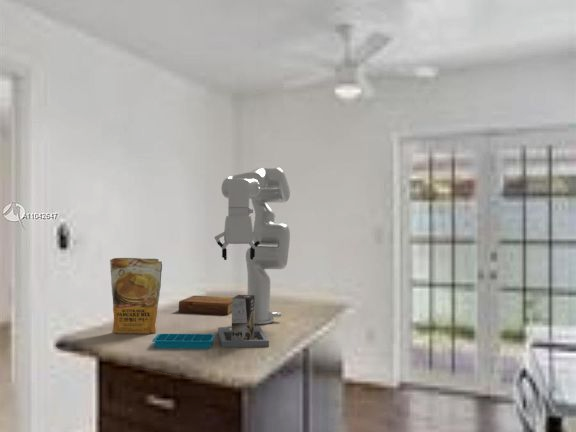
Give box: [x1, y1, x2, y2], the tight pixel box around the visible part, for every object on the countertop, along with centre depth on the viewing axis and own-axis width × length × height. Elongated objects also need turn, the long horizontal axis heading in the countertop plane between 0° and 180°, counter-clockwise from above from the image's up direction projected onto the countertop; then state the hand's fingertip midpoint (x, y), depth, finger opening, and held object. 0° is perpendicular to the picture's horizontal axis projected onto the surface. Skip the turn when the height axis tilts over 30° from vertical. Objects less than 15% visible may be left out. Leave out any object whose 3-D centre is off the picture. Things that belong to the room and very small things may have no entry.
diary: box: [178, 295, 233, 316], centre depth 270 cm, size 23×19×6 cm
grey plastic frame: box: [217, 326, 270, 349], centre depth 211 cm, size 16×24×2 cm, turn 10°
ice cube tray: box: [151, 333, 216, 350], centre depth 201 cm, size 12×20×3 cm, turn 91°
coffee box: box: [230, 294, 255, 341], centre depth 208 cm, size 9×6×16 cm
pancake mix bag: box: [109, 257, 163, 335], centre depth 221 cm, size 7×19×28 cm, turn 91°
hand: (238, 259), depth 213 cm, fingers open, 9 cm apart
